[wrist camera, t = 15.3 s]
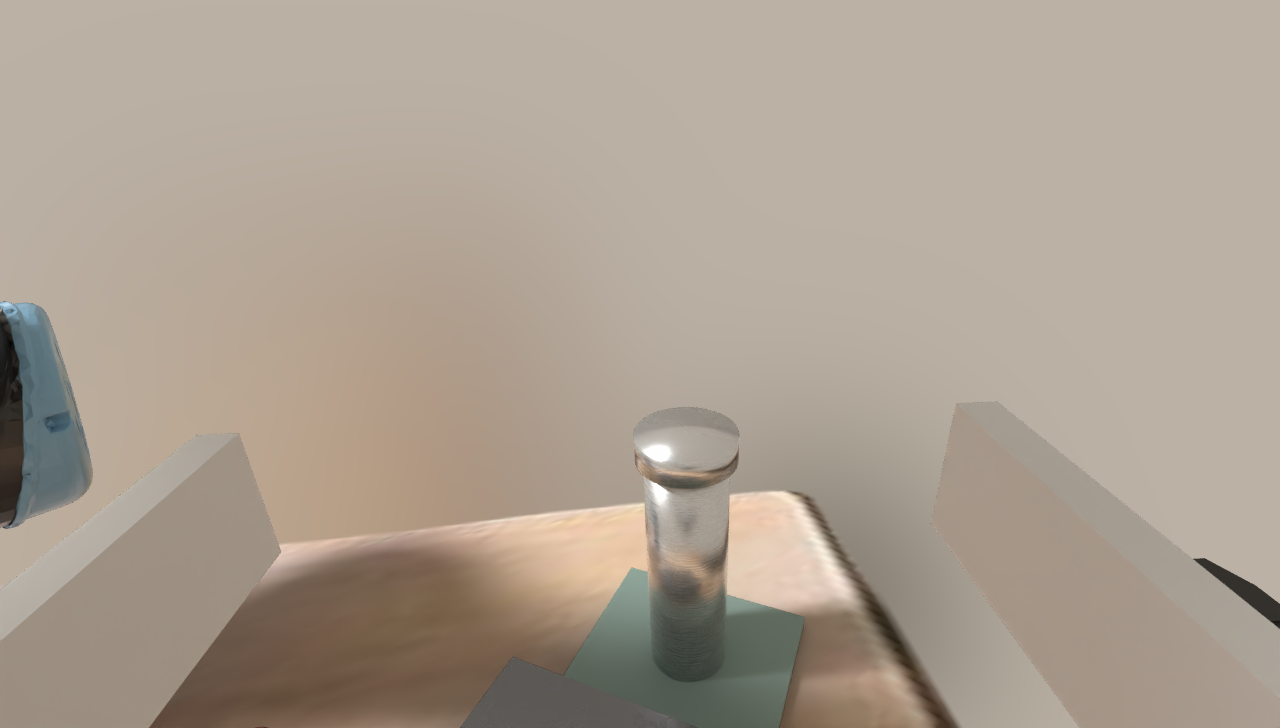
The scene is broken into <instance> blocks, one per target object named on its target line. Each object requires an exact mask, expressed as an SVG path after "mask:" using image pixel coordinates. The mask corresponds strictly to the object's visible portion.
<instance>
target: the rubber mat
mask: <svg viewBox="0 0 1280 728" xmlns="http://www.w3.org/2000/svg"><path fill="white" fill-rule="evenodd" d="M803 626H804V617H803V616H799V615H796V614H792V613H789V612H785V611H782V610H778V609H775V608H771V607H768V606H764V605H761V604H757V603H754V602H750V601H747V600H743V599H740V598H736V597H733V596H729V595H727V607H726V645H725V658H724V662H723V664H722V666H721V667H720V669H719V670H718V671H717V672H716V673H715V674H714V675H712V676H711V677H709V678H707V679H705V680H702V681H698V682H682V681H677V680H674V679H672V678H670V677H668V676H666V675H665V674H664V673H662V672H661V671H660V670H659V668H658V667H657V666H656V664H655V662H654V660H653V657H652V652H651V631H650V609H649V587H648V572H646V571H642V570H639V569H635V568H631V569H630V571H629V572H628V574H627V576H626V577H625V579H624V580H623V582H622V583H621V585H620V587H619V588H618V590H617V591H616V593H615V595H614V596H613V598H612V599H611V601H610V603H609V604H608V606H607V607H606V609H605V610H604V612H603V614H602V615H601V617H600V618H599V620H598V622H597V623H596V625H595V626H594V628H593V629H592V631H591V633H590V634H589V636H588V637H587V639H586V641H585V642H584V644H583V645H582V647H581V649H580V650H579V652H578V653H577V655H576V656H575V658H574V660H573V661H572V663H571V664H570V666H569V668H568V669H567V671H566V672H565V674H564V675H563V676H565V677H567V678H570V679H573V680H575V681H578V682H581V683H583V684H586V685H588V686H591V687H594V688H596V689H599V690H601V691H604V692H607V693H609V694H612V695H614V696H617V697H620V698H622V699H625V700H627V701H630V702H633V703H635V704H638V705H641V706H643V707H646V708H648V709H651V710H654V711H656V712H659V713H661V714H664V715H667V716H669V717H672V718H674V719H677V720H680V721H682V722H685V723H687V724H690V725H693V726H695V727H698V728H779V726H780V722H781V718H782V714H783V710H784V705H785V701H786V697H787V693H788V689H789V684H790V680H791V676H792V672H793V668H794V663H795V659H796V655H797V651H798V647H799V642H800V638H801V634H802V630H803Z"/></svg>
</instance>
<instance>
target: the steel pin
mask: <svg viewBox="0 0 1280 728" xmlns="http://www.w3.org/2000/svg"><path fill="white" fill-rule="evenodd" d="M634 453H635V464H636V467H637V469H638V471H639V472H640V473H641V474H642V475H643V476H644V498H645V521H646V543H647V565H648V587H649V609H650V631H651V652H652V657H653V660H654V662H655V664H656V666H657V667H658V668H659V670H660V671H661V672H662V673H664V674H665V675H666V676H668V677H670V678H672V679H674V680H677V681H682V682H698V681H702V680H705V679H707V678H709V677H711V676H712V675H714V674H715V673H716V672H717V671H718V670H719V669H720V667H721V666H722V664H723V662H724V658H725V645H726V607H727V570H728V532H729V494H730V492H729V491H730V490H729V489H730V476H731V475H732V474H733V473H734V472H735V470H736V469H737V466H738V461H739V430H738V428H737V426H736V424H735V423H734V422H733V421H732V420H730V419H729V418H728V417H726V416H724V415H722V414H720V413H717V412H715V411H711V410H707V409H702V408H693V407H679V408H671V409H665V410H661V411H658V412H655V413H653V414H651V415H648V416H647V417H645V418H644V419H642V420H641V421H640V422H639V423H638V424H637V426H636V427H635V429H634Z"/></svg>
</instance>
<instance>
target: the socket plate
mask: <svg viewBox="0 0 1280 728" xmlns="http://www.w3.org/2000/svg"><path fill="white" fill-rule="evenodd" d="M460 728H698V727H695V726H693V725H690V724H687V723H685V722H682V721H680V720H677V719H674V718H672V717H669V716H667V715H664V714H661V713H659V712H656V711H654V710H651V709H648V708H646V707H643V706H641V705H638V704H635V703H633V702H630V701H627V700H625V699H622V698H620V697H617V696H614V695H612V694H609V693H607V692H604V691H601V690H599V689H596V688H594V687H591V686H588V685H586V684H583V683H581V682H578V681H575V680H573V679H570V678H567V677H565V676H562V675H560V674H557V673H554V672H552V671H549V670H547V669H544V668H541V667H539V666H536V665H534V664H531V663H528V662H526V661H523V660H521V659H518V658H515V657H512V659H511V660H510V661H509V663H508V664H507V665H506V667H505V668H504V669H503V671H502V672H501V673H500V675H499V676H498V678H497V679H496V680H495V682H494V683H493V684H492V686H491V687H490V688H489V690H488V691H487V692H486V694H485V695H484V696H483V698H482V699H481V700H480V702H479V703H478V705H477V706H476V707H475V709H474V710H473V711H472V713H471V714H470V715H469V717H468V718H467V719H466V721H465V722H464V723H463V725H462V726H461V727H460Z"/></svg>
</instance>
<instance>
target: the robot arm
mask: <svg viewBox="0 0 1280 728" xmlns="http://www.w3.org/2000/svg"><path fill="white" fill-rule="evenodd" d="M92 478H93V470H92V464H91V459H90V454H89V450H88V446H87V442H86V438H85V434H84V430H83V426H82V423H81V419H80V415H79V412H78V408H77V405H76V401H75V398H74V394H73V391H72V387H71V384H70V381H69V378H68V374H67V371H66V368H65V365H64V361H63V358H62V355H61V352H60V349H59V346H58V343H57V340H56V337H55V334H54V331H53V328H52V325H51V323H50V320H49V318H48V316H47V314H46V312H45V311H44V310H43V309H42V308H41V307H39V306H37V305H35V304H32V303H16V304H12V303H9V302H6V301H3V302H1V303H0V528H1V527H3V528H5V529H8V528H13V527H17V526H19V525H20V524H22V523H23V522H24V521H25V520H26V519H29V518H32V517H35V516H37V515H40V514H43V513H46V512H49V511H51V510H54V509H57V508H60V507H63V506H65V505H68V504H70V503H73V502H74V501H76V500H78V499H79V498H80V497H81V496H83V495H84V494H85V493H86V492H87V490H88V489H89V487H90V485H91V483H92ZM931 524H932V526H933V527H934V528H935V530H936V531H937V532H938V534H939V535H940V536H941V538H942V539H943V540H944V542H945V543H946V545H947V546H948V547H949V549H950V550H951V552H952V553H953V554H954V556H955V557H956V558H957V560H958V561H959V563H960V564H961V565H962V567H963V568H964V569H965V571H966V572H967V574H968V575H969V576H970V578H971V579H972V580H973V582H974V583H975V584H976V586H977V587H978V589H979V590H980V591H981V593H982V594H983V595H984V597H985V598H986V600H987V601H988V602H989V604H990V605H991V606H992V608H993V609H994V611H995V612H996V613H997V615H998V616H999V617H1000V619H1001V620H1002V622H1003V623H1004V624H1005V626H1006V627H1007V628H1008V630H1009V631H1010V633H1011V634H1012V635H1013V637H1014V638H1015V639H1016V641H1017V642H1018V644H1019V645H1020V646H1021V647H1022V649H1023V650H1024V652H1025V653H1026V655H1027V656H1028V657H1029V659H1030V660H1031V661H1032V663H1033V664H1034V665H1035V667H1036V668H1037V670H1038V671H1039V672H1040V674H1041V675H1042V676H1043V678H1044V679H1045V681H1046V682H1047V683H1048V685H1049V686H1050V687H1051V689H1052V690H1053V692H1054V693H1055V694H1056V696H1057V697H1058V698H1059V700H1060V701H1061V703H1062V704H1063V705H1064V707H1065V708H1066V709H1067V711H1068V712H1069V714H1070V715H1071V716H1072V717H1073V719H1074V720H1075V722H1076V723H1077V725H1078V726H1079V727H1080V728H1280V604H1279V603H1278V602H1277V601H1275V600H1274V599H1273V598H1271V597H1270V596H1269V595H1267V594H1266V593H1265V592H1263V591H1262V590H1261V589H1259V588H1258V587H1257V586H1255V585H1254V584H1252V583H1250V582H1248V581H1246V580H1244V579H1242V578H1241V577H1238V576H1237V575H1235V574H1233V573H1231V572H1229V571H1227V570H1225V569H1224V568H1222V567H1220V566H1218V565H1216V564H1214V563H1212V562H1211V561H1209V560H1207V559H1205V558H1202V559H1201V558H1200V559H1192V558H1190V556H1188V555H1187V554H1186V553H1185V552H1183V551H1182V550H1181V549H1180V548H1178V547H1177V546H1176V545H1175V544H1173V543H1172V542H1171V541H1170V540H1168V539H1167V538H1166V537H1165V536H1164V535H1162V534H1161V533H1160V532H1159V531H1157V530H1156V529H1155V528H1154V527H1152V526H1151V525H1150V524H1148V523H1147V522H1146V521H1145V520H1143V519H1142V518H1141V517H1140V516H1139V515H1137V514H1136V513H1135V512H1134V511H1133V510H1131V509H1130V508H1129V507H1128V506H1126V505H1125V504H1124V503H1123V502H1121V501H1120V500H1119V499H1118V498H1116V497H1115V496H1114V495H1112V494H1111V493H1110V492H1109V491H1108V490H1106V489H1105V488H1104V487H1102V486H1101V485H1100V484H1099V483H1098V482H1096V481H1095V480H1094V479H1093V478H1091V477H1090V476H1089V475H1088V474H1086V473H1085V472H1084V471H1083V470H1082V469H1080V468H1079V467H1078V466H1077V465H1075V464H1074V463H1073V462H1072V461H1070V460H1069V459H1068V458H1067V457H1065V456H1064V455H1063V454H1062V453H1060V452H1059V451H1058V450H1057V449H1055V448H1054V447H1053V446H1052V445H1050V444H1049V443H1048V442H1047V441H1046V440H1044V439H1043V438H1042V437H1041V436H1039V435H1038V434H1037V433H1036V432H1034V431H1033V430H1032V429H1031V428H1029V427H1028V426H1027V425H1026V424H1024V423H1023V422H1022V421H1021V420H1020V419H1018V418H1017V417H1016V416H1015V415H1013V414H1012V413H1011V412H1009V411H1008V410H1007V409H1006V408H1005V407H1003V406H1002V405H1001V404H1000V403H998V402H976V403H975V402H974V403H956V406H955V411H954V415H953V420H952V425H951V430H950V435H949V439H948V444H947V449H946V454H945V458H944V463H943V468H942V473H941V477H940V482H939V487H938V492H937V496H936V501H935V506H934V511H933V515H932V520H931ZM280 553H281V550H280V547H279V544H278V541H277V539H276V536H275V533H274V530H273V528H272V525H271V522H270V519H269V516H268V514H267V511H266V508H265V505H264V503H263V500H262V497H261V494H260V491H259V488H258V486H257V483H256V480H255V477H254V474H253V471H252V469H251V466H250V463H249V460H248V457H247V455H246V452H245V449H244V446H243V443H242V441H241V438H240V435H239V433H231V434H230V433H229V434H207V435H206V434H205V435H196V436H194V437H193V438H192V439H191V440H189V441H188V442H187V443H185V444H184V445H183V446H182V447H181V448H179V449H178V450H177V451H175V452H174V453H173V454H171V455H170V456H169V457H168V458H166V459H165V460H164V461H163V462H161V463H160V464H159V465H158V466H156V467H155V468H154V469H152V470H151V471H150V472H149V473H147V474H146V475H145V476H144V477H142V478H141V479H140V480H139V481H137V482H136V483H135V484H133V485H132V486H131V487H130V488H128V489H127V490H126V491H125V492H123V493H122V494H121V495H119V496H118V497H117V498H116V499H114V500H113V501H112V502H111V503H109V504H108V505H107V506H106V507H104V508H103V509H102V510H100V511H99V512H98V513H97V514H95V515H94V516H93V517H92V518H91V519H89V520H88V521H87V522H85V523H84V524H83V525H81V526H80V527H79V528H78V529H76V530H75V531H74V532H73V533H71V534H70V535H69V536H68V537H66V538H65V539H64V540H62V541H61V542H60V543H59V544H57V545H56V546H55V547H54V548H52V549H51V550H50V551H49V552H47V553H46V554H45V555H43V556H42V557H41V558H40V559H38V560H37V561H36V562H35V563H33V564H32V565H31V566H29V567H28V568H27V569H26V570H24V571H23V572H22V573H21V574H20V575H18V576H17V577H16V578H14V579H13V580H12V581H10V582H9V583H8V584H7V585H5V586H4V587H3V588H2V589H0V728H149V727H150V726H151V724H152V723H153V722H154V720H155V719H156V718H157V716H158V715H159V714H160V712H161V711H162V710H163V708H164V707H165V706H166V704H167V703H168V702H169V700H170V699H171V698H172V696H173V695H174V694H175V692H176V691H177V690H178V688H179V687H180V686H181V684H182V683H183V682H184V680H185V679H186V678H187V676H188V675H189V674H190V672H191V671H192V670H193V669H194V667H195V666H196V665H197V663H198V662H199V661H200V659H201V658H202V657H203V655H204V654H205V653H206V651H207V650H208V649H209V647H210V646H211V645H212V643H213V642H214V641H215V639H216V638H217V637H218V635H219V634H220V633H221V631H222V630H223V629H224V627H225V626H226V625H227V623H228V622H229V621H230V619H231V618H232V617H233V615H234V614H235V613H236V611H237V610H238V609H239V607H240V606H241V605H242V603H243V602H244V601H245V599H246V598H247V597H248V595H249V594H250V593H251V591H252V590H253V589H254V587H255V586H256V585H257V583H258V582H259V581H260V579H261V578H262V577H263V575H264V574H265V573H266V571H267V570H268V569H269V568H270V566H271V565H272V564H273V562H274V561H275V560H276V558H277V557H278V556H279V554H280Z"/></svg>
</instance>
